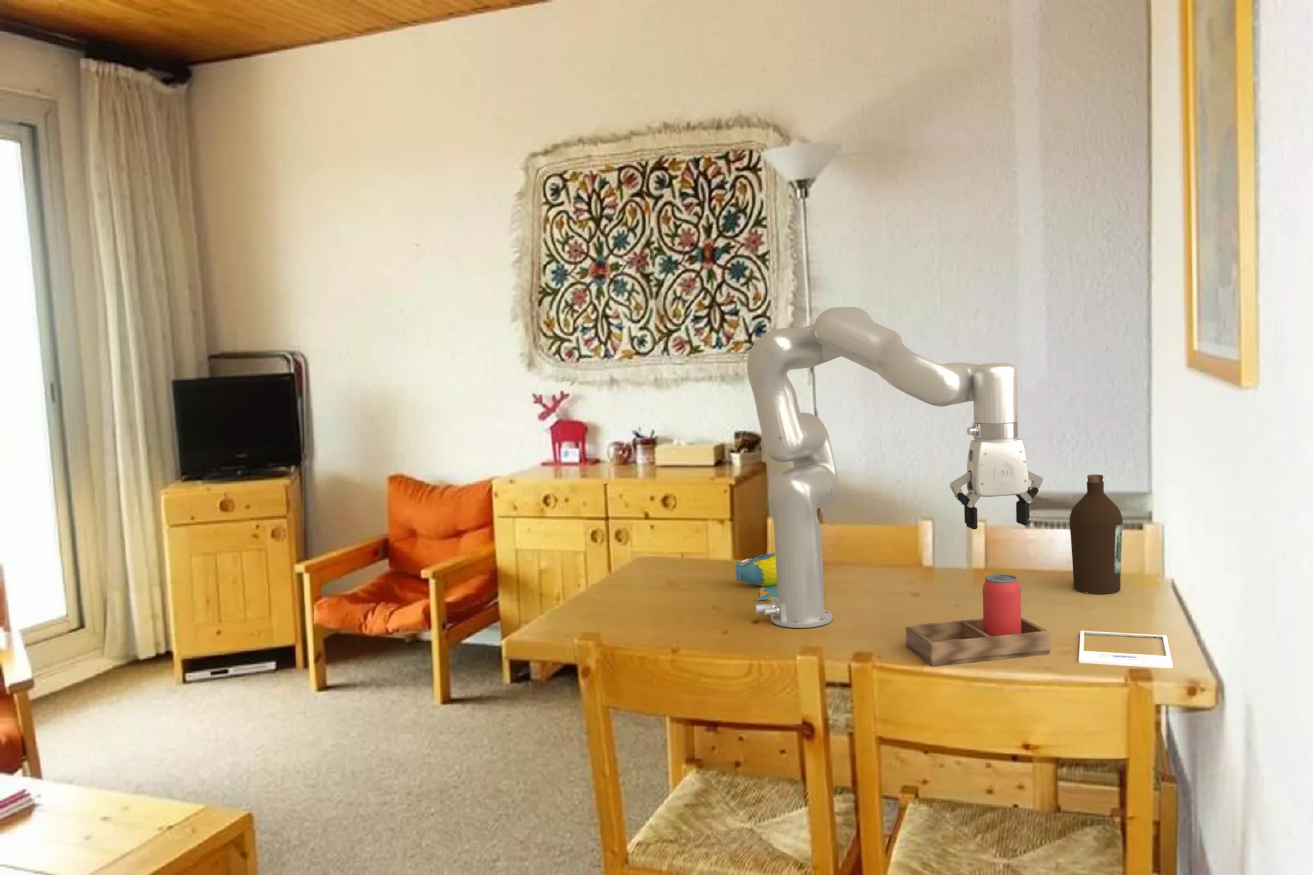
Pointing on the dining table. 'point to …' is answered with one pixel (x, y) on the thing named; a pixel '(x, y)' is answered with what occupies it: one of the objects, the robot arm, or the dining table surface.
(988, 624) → the beer can
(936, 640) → the crate
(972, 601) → the dining table surface
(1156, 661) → the photo frame
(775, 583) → the fish figurine
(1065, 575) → the dining table surface
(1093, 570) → the olive oil
